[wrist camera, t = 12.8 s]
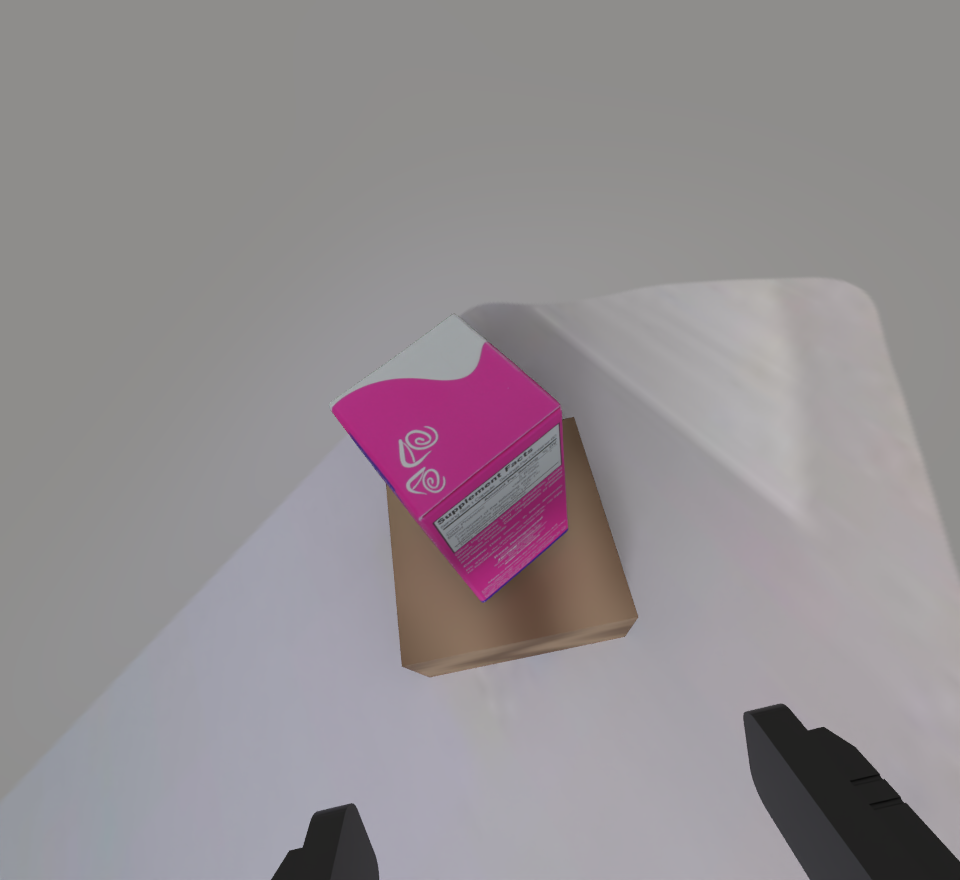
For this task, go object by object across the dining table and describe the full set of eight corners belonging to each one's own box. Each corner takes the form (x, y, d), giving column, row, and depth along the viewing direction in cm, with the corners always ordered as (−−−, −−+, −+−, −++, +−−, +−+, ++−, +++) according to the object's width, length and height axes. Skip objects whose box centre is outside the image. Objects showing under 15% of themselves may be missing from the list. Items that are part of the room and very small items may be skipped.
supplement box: (413, 523, 27) (320, 398, 17) (499, 456, 28) (459, 302, 18) (480, 610, 24) (416, 519, 14) (573, 531, 25) (572, 397, 15)
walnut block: (430, 677, 28) (401, 666, 23) (410, 500, 34) (383, 459, 29) (624, 637, 28) (638, 617, 23) (571, 464, 34) (573, 417, 29)
